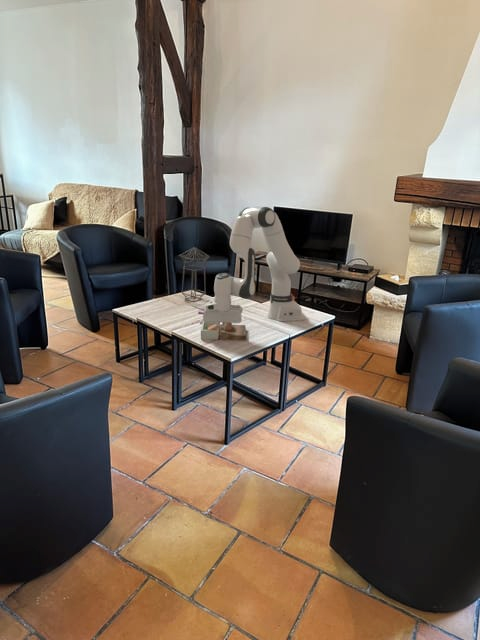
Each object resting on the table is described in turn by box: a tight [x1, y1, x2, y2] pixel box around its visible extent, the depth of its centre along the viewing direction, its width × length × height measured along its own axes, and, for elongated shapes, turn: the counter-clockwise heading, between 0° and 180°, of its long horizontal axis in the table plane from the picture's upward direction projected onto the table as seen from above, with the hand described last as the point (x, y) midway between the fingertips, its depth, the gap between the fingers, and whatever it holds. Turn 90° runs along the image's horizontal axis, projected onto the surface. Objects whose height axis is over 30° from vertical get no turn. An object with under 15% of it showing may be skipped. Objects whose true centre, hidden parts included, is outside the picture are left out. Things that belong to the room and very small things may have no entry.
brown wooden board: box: [218, 324, 247, 341], centre depth 236 cm, size 14×16×2 cm
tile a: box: [208, 324, 220, 334], centre depth 232 cm, size 5×5×4 cm
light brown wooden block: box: [221, 322, 233, 330], centre depth 238 cm, size 5×5×4 cm
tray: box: [200, 320, 219, 341], centre depth 236 cm, size 9×16×5 cm, turn 0°
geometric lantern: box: [178, 246, 211, 303], centre depth 288 cm, size 16×16×35 cm
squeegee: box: [198, 311, 204, 325], centre depth 265 cm, size 29×2×10 cm
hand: (222, 329), depth 232 cm, fingers closed
